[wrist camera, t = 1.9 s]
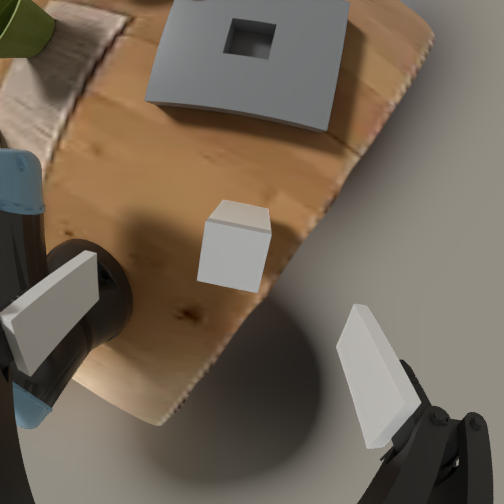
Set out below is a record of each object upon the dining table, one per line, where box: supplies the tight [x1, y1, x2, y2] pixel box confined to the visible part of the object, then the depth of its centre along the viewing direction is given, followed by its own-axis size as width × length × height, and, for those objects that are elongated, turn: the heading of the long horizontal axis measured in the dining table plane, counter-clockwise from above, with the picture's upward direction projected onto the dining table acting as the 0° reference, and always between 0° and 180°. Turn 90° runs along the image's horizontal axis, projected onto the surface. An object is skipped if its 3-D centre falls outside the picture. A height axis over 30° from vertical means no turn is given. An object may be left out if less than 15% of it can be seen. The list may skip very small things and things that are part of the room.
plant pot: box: [0, 0, 55, 58], centre depth 16 cm, size 12×12×11 cm
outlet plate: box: [145, 0, 350, 133], centre depth 22 cm, size 16×18×4 cm
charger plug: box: [197, 200, 272, 293], centre depth 25 cm, size 4×4×12 cm
